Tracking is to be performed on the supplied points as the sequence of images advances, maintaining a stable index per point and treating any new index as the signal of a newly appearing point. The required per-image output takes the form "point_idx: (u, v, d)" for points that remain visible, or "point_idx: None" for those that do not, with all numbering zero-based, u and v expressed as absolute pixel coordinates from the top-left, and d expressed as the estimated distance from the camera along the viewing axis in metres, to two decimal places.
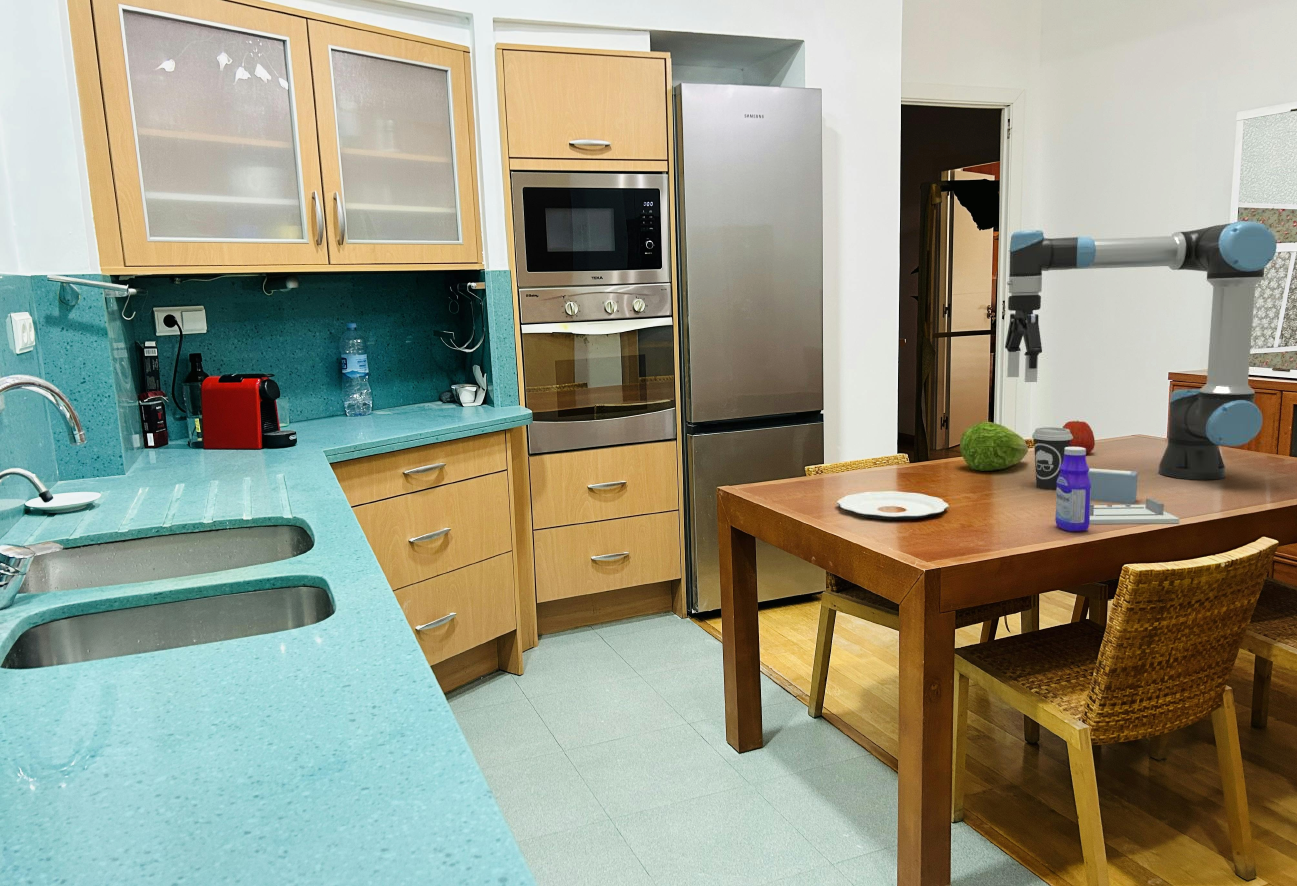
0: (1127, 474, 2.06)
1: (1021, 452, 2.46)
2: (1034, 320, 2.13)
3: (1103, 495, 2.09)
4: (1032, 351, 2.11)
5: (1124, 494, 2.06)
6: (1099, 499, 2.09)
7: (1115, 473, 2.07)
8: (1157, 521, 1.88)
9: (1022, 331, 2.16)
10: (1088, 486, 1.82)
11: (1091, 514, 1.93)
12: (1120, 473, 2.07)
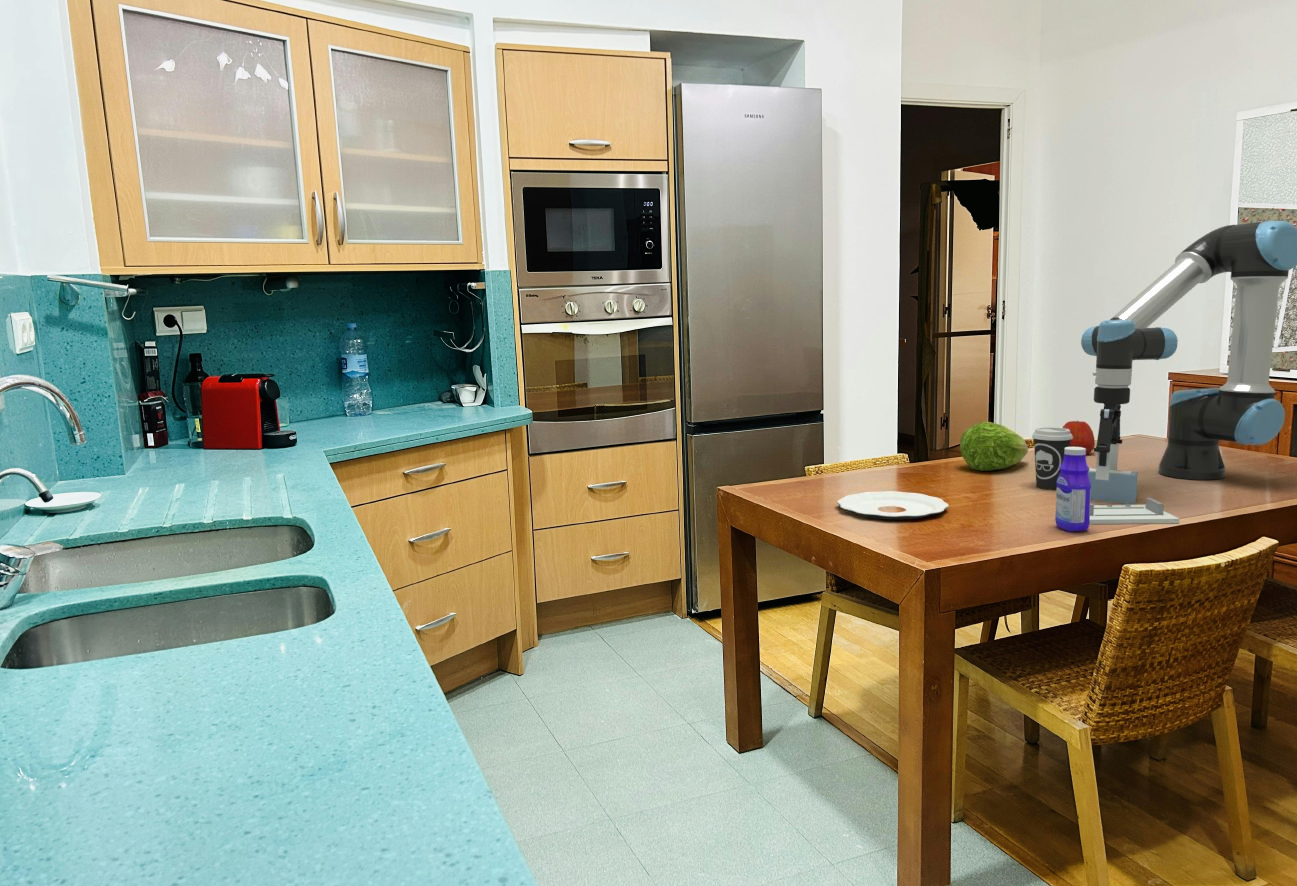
0: (1127, 474, 2.06)
1: (1021, 452, 2.46)
2: (1107, 416, 2.02)
3: (1103, 495, 2.09)
4: (1097, 448, 2.01)
5: (1125, 494, 2.06)
6: (1099, 499, 2.09)
7: (1115, 473, 2.07)
8: (1157, 521, 1.88)
9: None
10: (1088, 486, 1.82)
11: (1091, 514, 1.93)
12: (1120, 473, 2.07)
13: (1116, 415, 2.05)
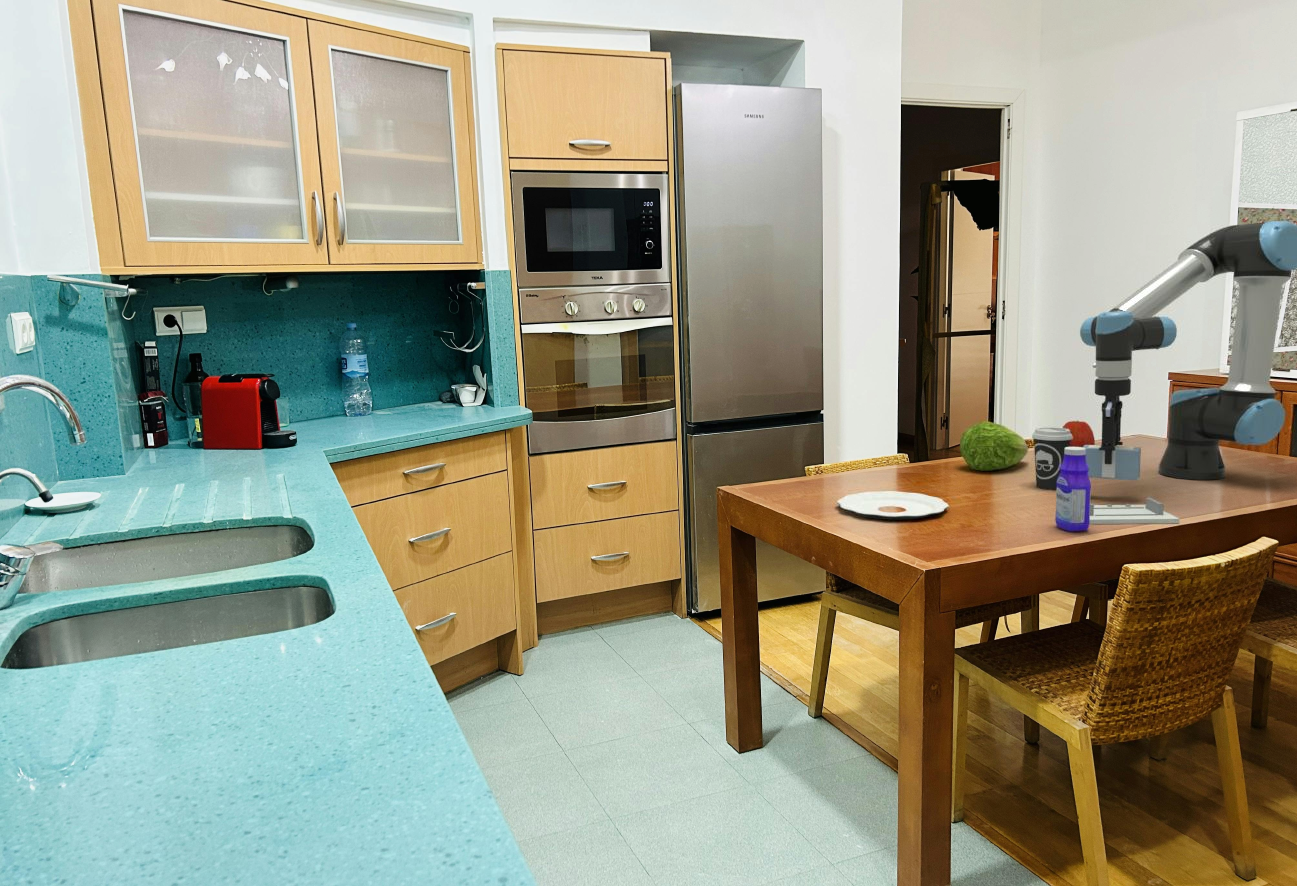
0: (1130, 450, 2.05)
1: (1021, 452, 2.46)
2: (1109, 415, 2.02)
3: None
4: (1102, 448, 2.05)
5: (1128, 470, 2.05)
6: None
7: (1118, 449, 2.06)
8: (1157, 521, 1.88)
9: None
10: (1088, 486, 1.82)
11: (1091, 514, 1.93)
12: (1123, 449, 2.06)
13: (1118, 408, 2.05)
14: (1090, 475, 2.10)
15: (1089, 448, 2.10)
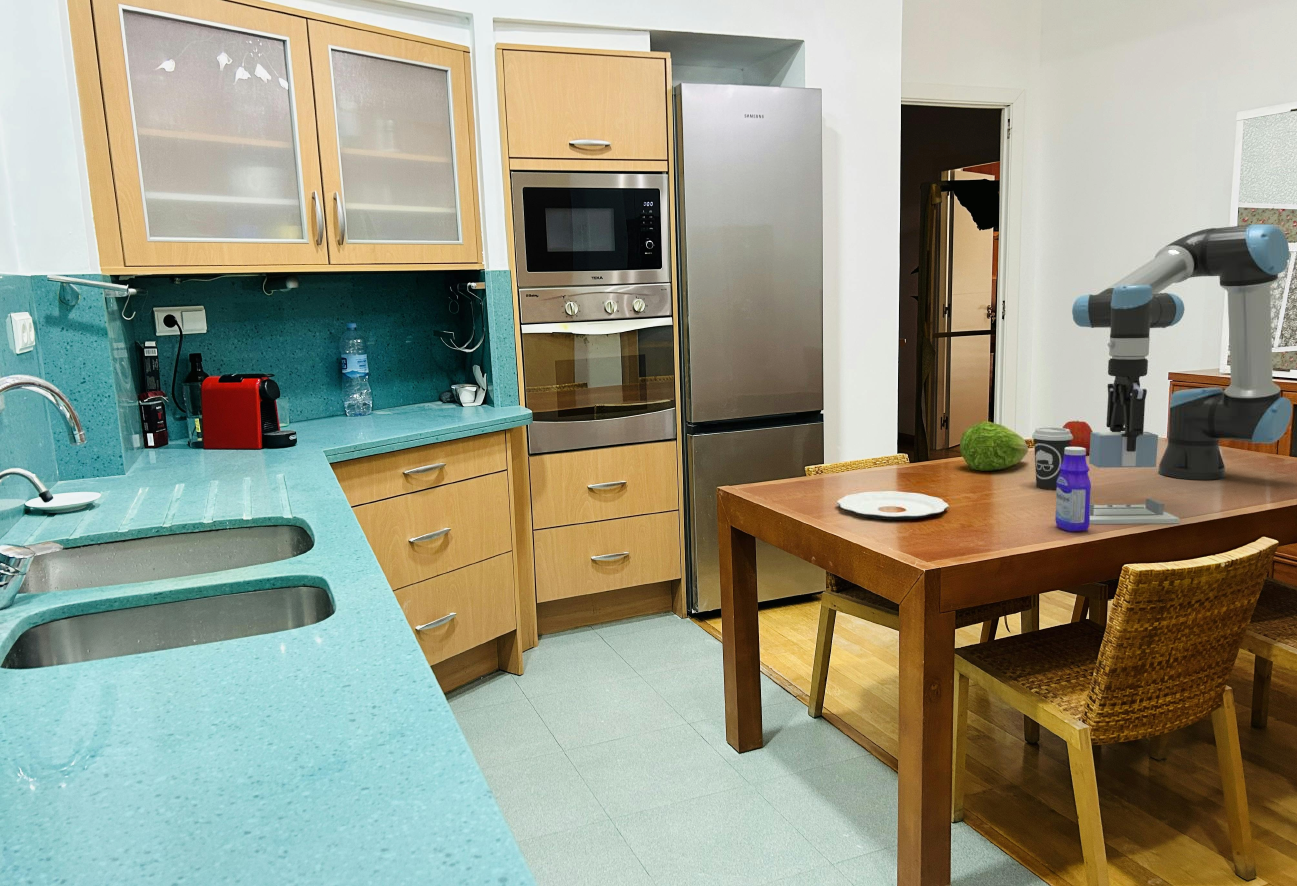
0: (1148, 434, 1.90)
1: (1021, 452, 2.46)
2: (1141, 397, 1.84)
3: None
4: (1132, 434, 1.86)
5: (1147, 456, 1.90)
6: None
7: None
8: (1157, 521, 1.88)
9: (1123, 404, 1.89)
10: (1088, 486, 1.82)
11: (1091, 514, 1.93)
12: None
13: None
14: (1108, 465, 1.91)
15: (1107, 435, 1.90)
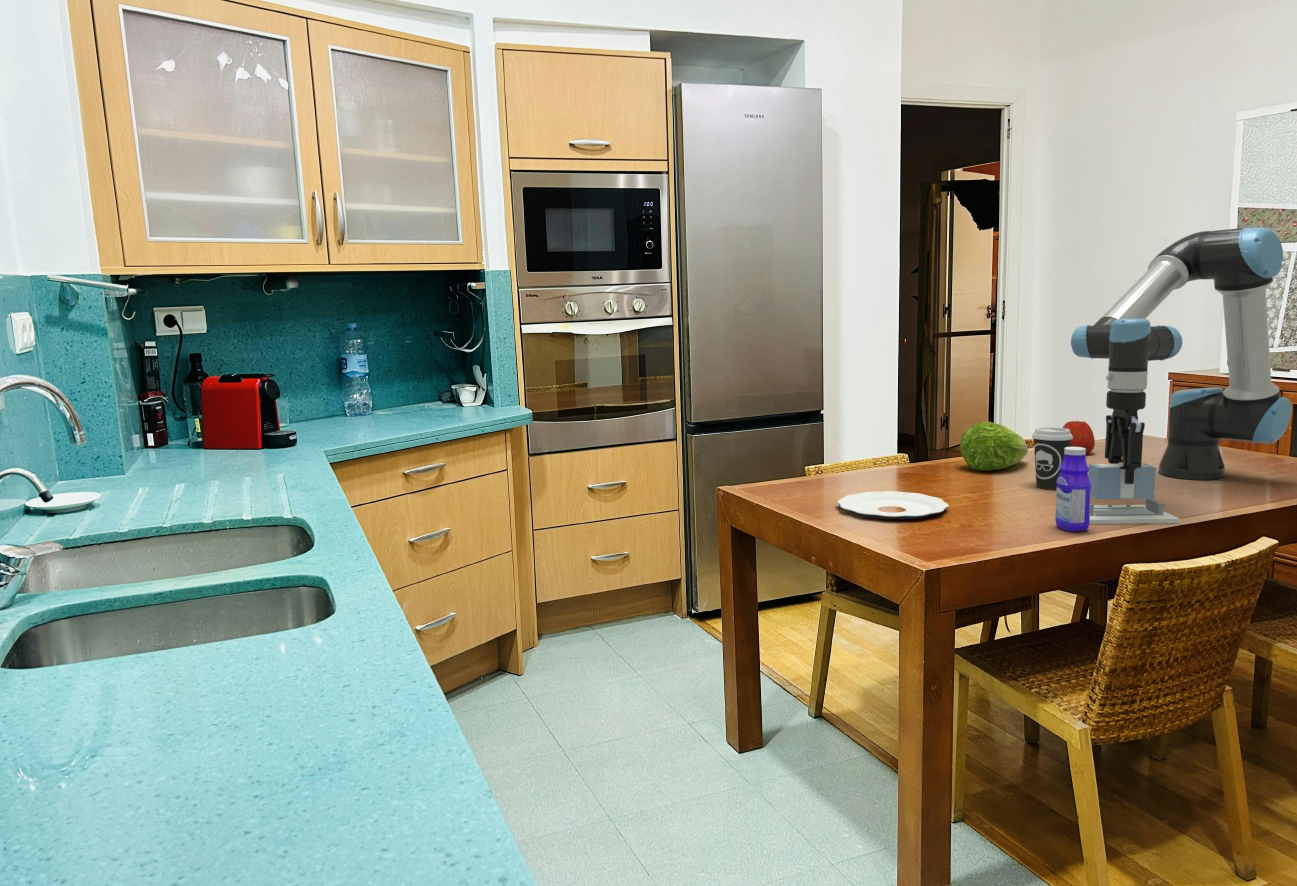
0: (1146, 467, 1.91)
1: (1021, 452, 2.46)
2: (1139, 430, 1.86)
3: None
4: (1130, 467, 1.87)
5: (1145, 488, 1.91)
6: None
7: None
8: (1157, 521, 1.88)
9: (1122, 437, 1.90)
10: (1088, 486, 1.82)
11: (1091, 514, 1.93)
12: None
13: None
14: (1106, 497, 1.92)
15: (1105, 467, 1.91)
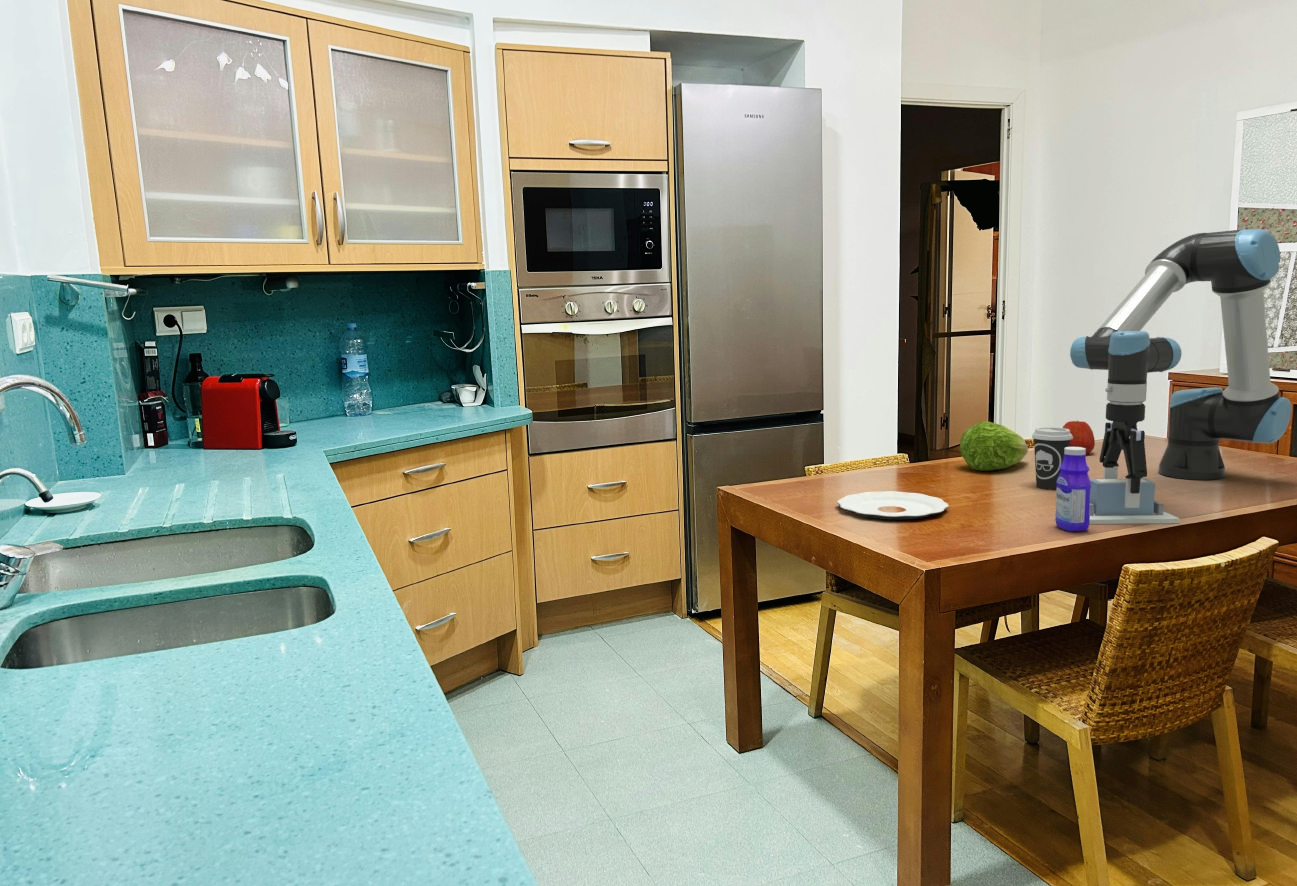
0: (1146, 482, 1.91)
1: (1021, 452, 2.46)
2: (1139, 438, 1.85)
3: (1123, 507, 1.92)
4: (1136, 475, 1.85)
5: (1144, 504, 1.92)
6: (1119, 512, 1.92)
7: None
8: (1157, 521, 1.88)
9: (1123, 447, 1.89)
10: (1088, 486, 1.82)
11: (1091, 514, 1.93)
12: None
13: None
14: (1106, 512, 1.93)
15: (1104, 483, 1.92)
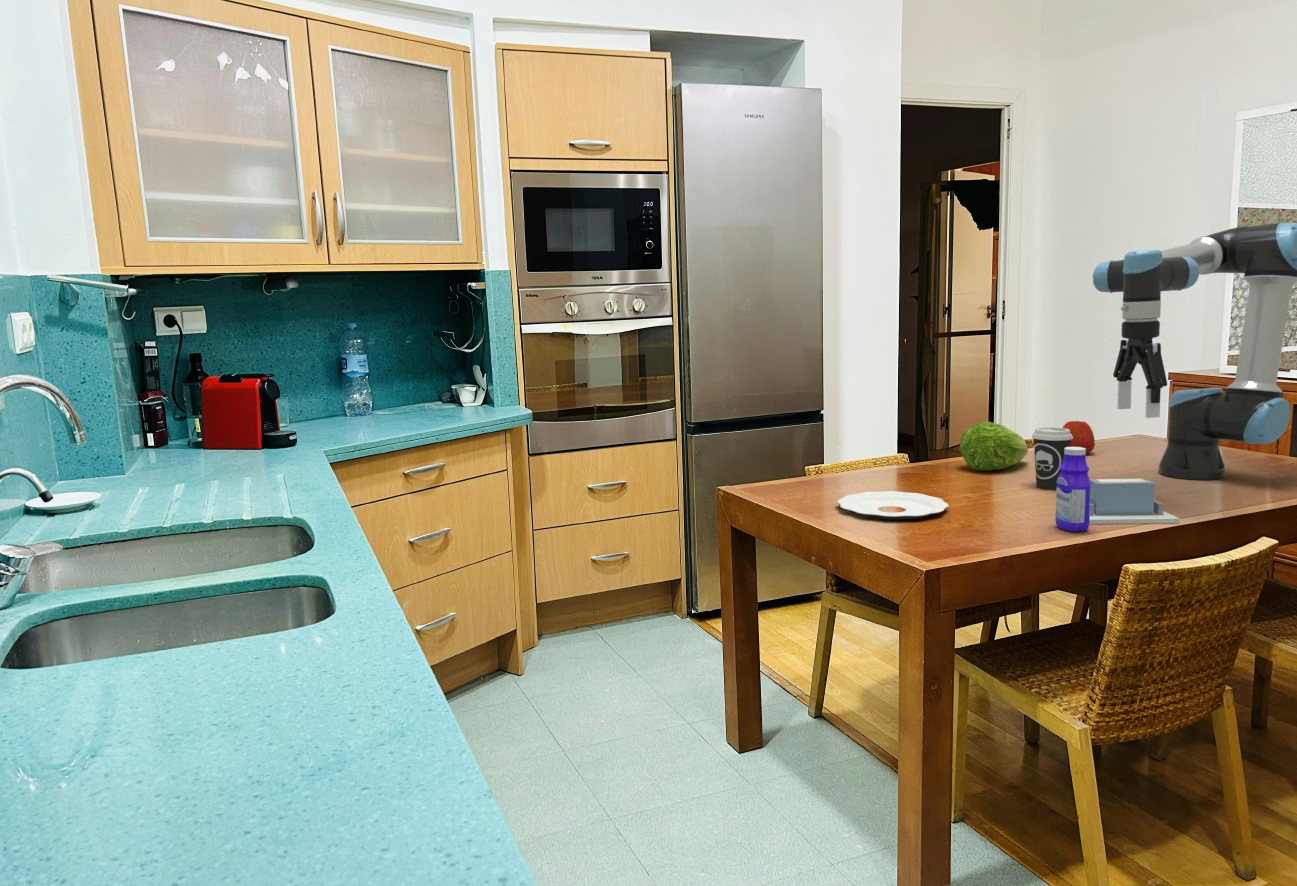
0: (1146, 482, 1.91)
1: (1021, 452, 2.46)
2: (1156, 350, 1.92)
3: (1123, 507, 1.92)
4: (1156, 385, 1.91)
5: (1144, 504, 1.92)
6: (1119, 512, 1.92)
7: (1133, 482, 1.92)
8: (1157, 521, 1.88)
9: (1141, 361, 1.96)
10: (1088, 486, 1.82)
11: (1091, 514, 1.93)
12: (1138, 482, 1.92)
13: None
14: (1106, 512, 1.93)
15: (1104, 483, 1.92)
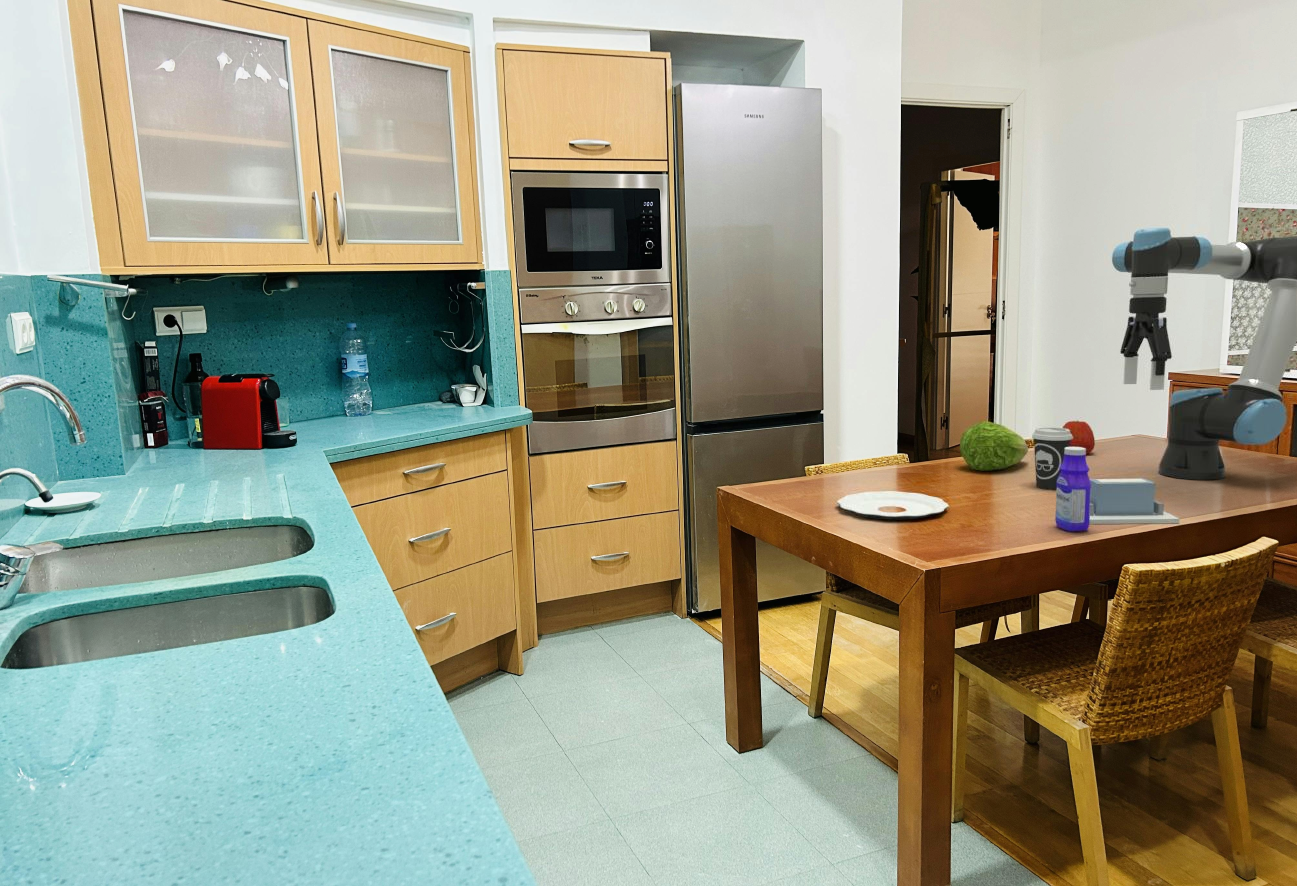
0: (1146, 482, 1.91)
1: (1021, 452, 2.46)
2: (1162, 324, 1.99)
3: (1123, 507, 1.92)
4: (1161, 357, 1.97)
5: (1144, 504, 1.92)
6: (1119, 512, 1.92)
7: (1133, 482, 1.92)
8: (1157, 521, 1.88)
9: (1147, 335, 2.03)
10: (1088, 486, 1.82)
11: (1091, 514, 1.93)
12: (1138, 482, 1.92)
13: None
14: (1106, 512, 1.93)
15: (1104, 483, 1.92)
